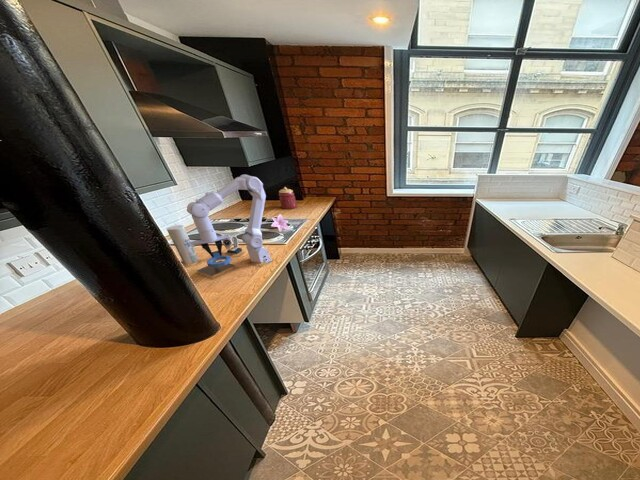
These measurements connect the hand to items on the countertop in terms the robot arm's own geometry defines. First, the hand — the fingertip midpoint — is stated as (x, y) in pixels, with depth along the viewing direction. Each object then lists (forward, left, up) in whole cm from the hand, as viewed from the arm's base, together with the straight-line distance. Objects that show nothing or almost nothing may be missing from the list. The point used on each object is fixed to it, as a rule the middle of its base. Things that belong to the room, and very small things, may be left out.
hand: (217, 256), depth 117 cm
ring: (-4, +2, -1) cm, 4 cm away
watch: (+15, -16, -10) cm, 24 cm away
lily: (+24, -56, -10) cm, 62 cm away
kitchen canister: (+63, -100, -10) cm, 119 cm away
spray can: (+25, +1, -10) cm, 27 cm away
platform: (+6, 0, -9) cm, 11 cm away
